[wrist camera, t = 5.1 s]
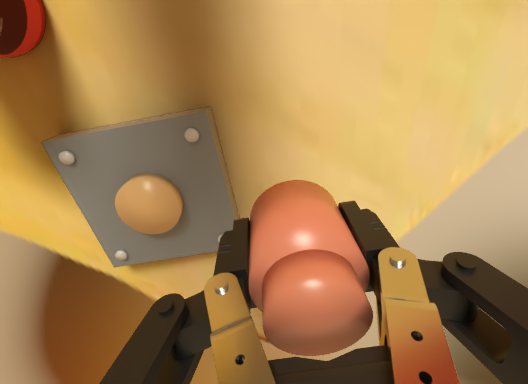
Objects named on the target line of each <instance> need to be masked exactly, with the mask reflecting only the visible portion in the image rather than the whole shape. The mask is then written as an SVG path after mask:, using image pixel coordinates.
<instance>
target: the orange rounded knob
mask: <svg viewBox="0 0 528 384" xmlns="http://www.w3.org/2000/svg"><path fill="white" fill-rule="evenodd" d="M369 278H370V274H369V268H368V265H367V263H366V261H365V259H364V257H363V255H362V253H361V251H360V249H359V247H358V245H357V243H356V241H355V239H354V237H353V235H352V234H351V232H350V230H349V228H348V226H347V224H346V222H345V220H344V218H343V216H342V214H341V212H340V210H339V208H338V206H337V204H336V202H335V201H334V199H333V197H332V196H331V194H330V193H329V192H328V191H327V190H325V189H324V188H323V187H321V186H319V185H318V184H315V183H312V182H309V181H303V180H292V181H286V182H282V183H279V184H276V185H274V186H272V187H270V188H269V189H267V190H266V191H265V192H263V193H262V194H261V195H260V196H259V197H258V199H257V200H256V202H255V203H254V205H253V207H252V210H251V215H250V249H249V293H250V296H251V299H252V300H253V302H254V304H255V305H256V306H257V307H258V308H259V309H260V310H261V311H262V312H263V330H264V333H265V336H266V337H267V339H268V340H269V341H270V342H271V343H272V344H273V345H274V346H275V347H277V348H279V349H281V350H283V351H285V352H288V353H292V354H296V355H305V356H316V355H324V354H329V353H333V352H337V351H339V350H342V349H344V348H347V347H349V346H351V345H352V344H354V343H356V342H357V341H358V340H359V339H361V338H362V337H363V336H364V335H365V334H366V332H367V331H368V330H369V328H370V326H371V323H372V319H373V311H372V308H371V306H370V303H369V301H368V299H367V297H366V294H365V292H366V289H367V287H368V284H369Z"/></svg>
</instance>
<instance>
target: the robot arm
mask: <svg viewBox="0 0 528 384" xmlns="http://www.w3.org/2000/svg"><path fill="white" fill-rule="evenodd" d="M338 208H339V210H340V212H341V214H342V216H343V218H344V220H345V222H346V224H347V226H348V228H349V230H350V232H351V234H352V235H353V237H354V239H355V241H356V243H357V245H358V247H359V249H360V251H361V253H362V255H363V257H364V259H365V261H366V263H367V265H368V268H369V274H370V278H369V284H368V287H367V289H366V292H370V291H374V293H375V295H376V311H377V323H378V334H379V346H375V347H368V348H360V349H355V350H353V351H351V352H348V353H346V354H344V355H341V356H339V357H337V358H335V359H332V360H330V361H321V360H314V359H307V358H299V357H292V358H284V359H276V360H269V361H267V358H266V356H265V353H264V350H263V347H262V344H261V342H260V339H259V336H258V333H257V331H256V328H255V325H254V322H253V320H252V317H251V316H250V308H257V306H256V305H255V304H254V302H253V300H252V299H251V296H250V293H249V249H250V221H249V218H243V219H237V220H234V223H233V230H230V231H225V232H224V234H223V235H222V237H221V238H220V242H219V248H218V254H217V259H216V265H215V270H214V276H213V277H212V278H211V279H210V280H209V281H208V282H207V283H206V285H205V287H204V290H203V291H202V292H200V293H198V294H196V295H194V296H191V297H189V298H187V299H184V298H183V297H182V296H181V295H179V294H168V295H165V296H163V297H161V298H160V299H158V300H157V301H156V302H155V303H154V304H153V306H152V307H151V308H150V310H149V311H148V313H147V314H146V316H145V317H144V319H143V320H142V322H141V323H140V324H139V326H138V327H137V329H136V330H135V332H134V333H133V335H132V337H131V338H130V339H129V341H128V342H127V344H126V345H125V347H124V348H123V350H122V351H121V353H120V354H119V356H118V357H117V358H116V360H115V361H114V363H113V365H112V366H111V368H110V369H109V370H108V372H107V373H106V375H105V376H104V378H103V379H102V381H101V382H100V384H190V382H191V380H192V377H193V375H194V373H195V370H196V368H197V365H198V363H199V361H200V359H201V356H202V354H203V351H204V350H205V349H207V348H209V347H211V346H212V350H213V355H214V361H215V366H216V372H217V377H218V383H219V384H460V383H459V379H458V376H457V373H456V369H455V366H454V363H453V360H452V356H451V353H450V349H449V346H448V342H447V339H446V336H445V332H444V329H443V326H444V327H445V328H446V329H447V330H448V331H449V332H450V333H452V335H454V336H455V337H456V338H457V339H458V340H459V341H460V342H461V343H462V344H463V345H464V346H465V347H466V348H467V349H468V350H469V351H470V352H471V353H472V354H473V355H474V356H475V357H476V358H477V359H478V360H479V361H480V362H481V363H482V364H484V366H486V367H487V368H488V369H489V370H490V371H491V372H492V373H493V374H494V375H495V376H496V377H497V378H498V379H499V380H500V381H501V382H502V383H503V384H528V288H526V287H524V286H523V285H521V284H520V283H518V282H517V281H515V280H513V279H512V278H510V277H509V276H507V275H506V274H504V273H502V272H501V271H499V270H498V269H496V268H495V267H493V266H491V265H490V264H488V263H487V262H485V261H483V260H482V259H480V258H479V257H477V256H474V255H472V254H468V253H463V252H453V253H449V254H447V255H446V256H445V257H444V258H443V262H438V261H426V260H420V259H417V258H416V257H415V255H414V254H412V253H411V252H410V251H408V250H406V249H402V248H400V247H399V246H398V244H397V243H396V241H395V240H394V239H393V237H392V236H391V234H390V233H389V232H388V230H387V229H386V228H385V226H384V225H383V223H382V222H381V221H380V219H379V218H378V216H377V215H376V214H375V213H373V212H372V211H370V210H369V209H362V210H360V208H359V206H358V205H357V203H356V202H355V201H348V202H342V203H339V206H338ZM479 308H481V309H482V310H483V311H484V312H486V313H487V314H488V315H489V316H491V317H492V318H493V319H494V320H496V321H497V322H498V323H499V324H501V325H502V326H503V327H504V328H505V329H506V330H505V329H504V328H503V327H502V326H500V325H499V324H498V323H497V322H495V321H494V320H493V319H492V318H490V317H489V316H488V315H487V314H485V313H484V312H483V311H482V310H480V309H479ZM442 325H443V326H442Z"/></svg>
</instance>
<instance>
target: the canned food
mask: <svg viewBox="0 0 528 384" xmlns="http://www.w3.org/2000/svg"><path fill="white" fill-rule="evenodd" d="M44 30H45V13H44V7H43V4H42V1H41V0H0V58H9V57H16V56H21V55H23V54H25V53H27V52H28V51H30V50H32V49H33V48H35V47H36V46H37V45H38V44H39V42H40V41H41V39H42V37H43V34H44Z"/></svg>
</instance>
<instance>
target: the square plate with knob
mask: <svg viewBox="0 0 528 384" xmlns="http://www.w3.org/2000/svg"><path fill="white" fill-rule="evenodd" d="M41 143H42V145H43V147H44V149H45V150H46V152H47V154H48V155H49V157H50V159H51V161H52V162H53V164H54V166H55V167H56V169H57V171H58V172H59V174H60V176H61V178H62V179H63V181H64V183H65V184H66V186H67V188H68V189H69V191H70V193H71V195H72V196H73V198H74V200H75V201H76V203H77V205H78V207H79V208H80V210H81V212H82V213H83V215H84V217H85V218H86V220H87V222H88V224H89V225H90V227H91V229H92V230H93V232H94V234H95V236H96V237H97V239H98V241H99V242H100V244H101V246H102V247H103V249H104V251H105V253H106V254H107V256H108V258H109V259H110V261H111V263H112V264H113V266H114V267H120V266H126V265H133V264H139V263H146V262H152V261H159V260H165V259H172V258H178V257H185V256H191V255H198V254H204V253H211V252H217V251H218V248H219V242H220V238H221V237H222V235H223V234H224V232H225V231H230V230H233V223H234V220H237V219H239V215H238V211H237V207H236V203H235V199H234V195H233V192H232V188H231V184H230V180H229V176H228V172H227V168H226V165H225V161H224V157H223V153H222V149H221V145H220V141H219V138H218V134H217V130H216V126H215V122H214V118H213V114H212V111H211V107H210V106H209V107H204V108H198V109H193V110H187V111H182V112H177V113H171V114H166V115H161V116H155V117H150V118H145V119H139V120H134V121H128V122H123V123H118V124H112V125H107V126H102V127H96V128H91V129H86V130H80V131H75V132H69V133H64V134H59V135H57V136H54V137H52V138H49V139H47V140H45V141H42V142H41Z"/></svg>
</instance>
